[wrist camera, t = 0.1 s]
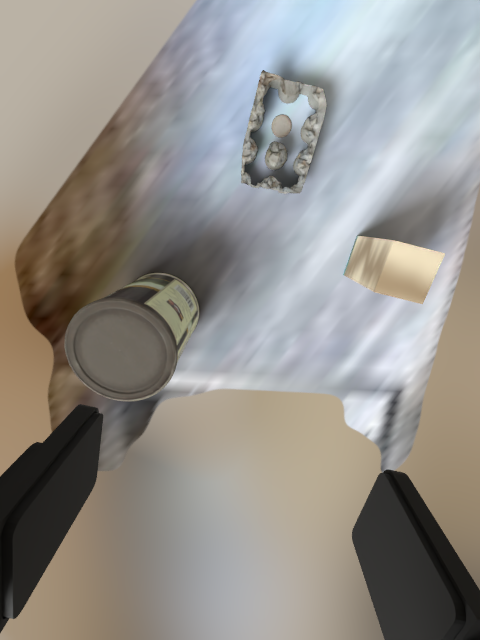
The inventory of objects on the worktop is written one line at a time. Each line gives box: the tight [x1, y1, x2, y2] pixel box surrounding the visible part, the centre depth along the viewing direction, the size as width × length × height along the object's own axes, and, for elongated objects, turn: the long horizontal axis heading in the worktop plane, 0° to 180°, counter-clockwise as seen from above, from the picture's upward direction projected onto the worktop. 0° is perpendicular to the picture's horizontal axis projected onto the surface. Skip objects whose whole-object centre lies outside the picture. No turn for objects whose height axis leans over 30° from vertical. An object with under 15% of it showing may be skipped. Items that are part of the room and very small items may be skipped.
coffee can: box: [65, 273, 199, 401], centre depth 34 cm, size 10×10×14 cm
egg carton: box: [241, 70, 327, 194], centre depth 33 cm, size 11×8×4 cm
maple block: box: [343, 236, 445, 304], centre depth 33 cm, size 5×5×10 cm
